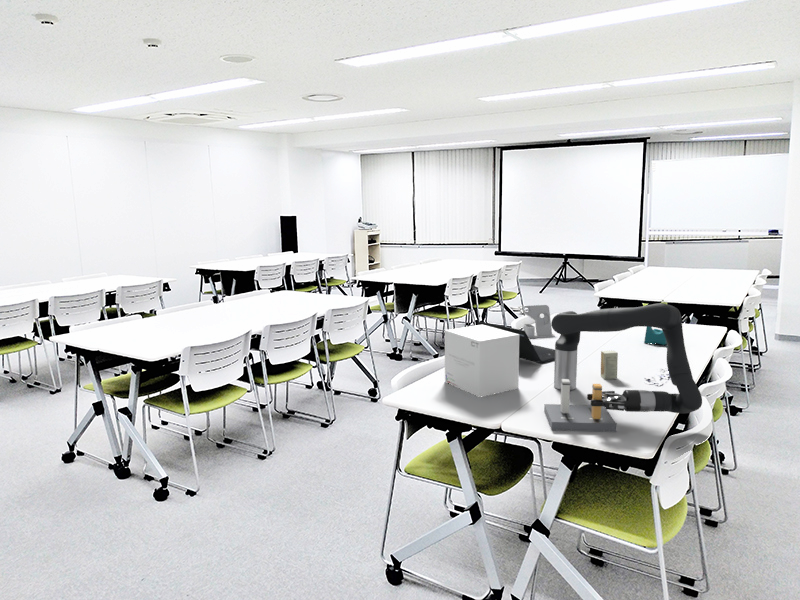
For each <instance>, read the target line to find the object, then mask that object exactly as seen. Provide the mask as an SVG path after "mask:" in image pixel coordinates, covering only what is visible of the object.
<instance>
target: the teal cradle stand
mask: <svg viewBox="0 0 800 600" xmlns="http://www.w3.org/2000/svg"><path fill="white" fill-rule="evenodd" d="M644 336H645V337H644V341H643V343H644V344H646V343H652V344H655V343H656V344H659V345H663V346H665V345H667V342H666V338H665V335H664V333H663V331H662V329H660V328H653V327H646V328H645V334H644ZM656 344H655V345H656Z"/></svg>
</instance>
